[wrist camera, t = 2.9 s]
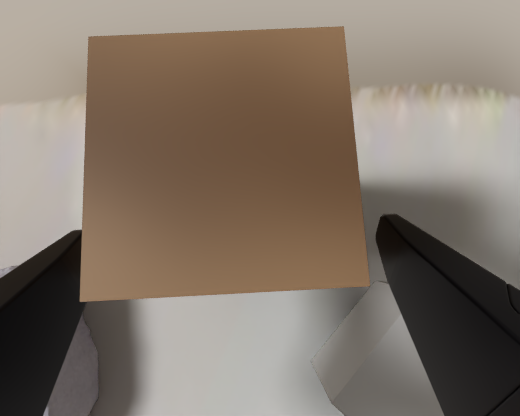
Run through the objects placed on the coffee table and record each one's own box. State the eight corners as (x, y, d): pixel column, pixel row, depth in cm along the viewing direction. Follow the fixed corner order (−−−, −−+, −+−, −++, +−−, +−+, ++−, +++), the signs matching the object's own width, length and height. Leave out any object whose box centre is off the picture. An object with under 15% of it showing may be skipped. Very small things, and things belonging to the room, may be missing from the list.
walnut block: (290, 262, 18) (369, 286, 5) (206, 266, 18) (79, 301, 5) (284, 180, 19) (343, 26, 6) (204, 184, 19) (88, 37, 6)
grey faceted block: (455, 350, 18) (532, 388, 13) (392, 435, 17) (448, 511, 12) (374, 280, 18) (418, 290, 13) (310, 360, 17) (331, 403, 12)
